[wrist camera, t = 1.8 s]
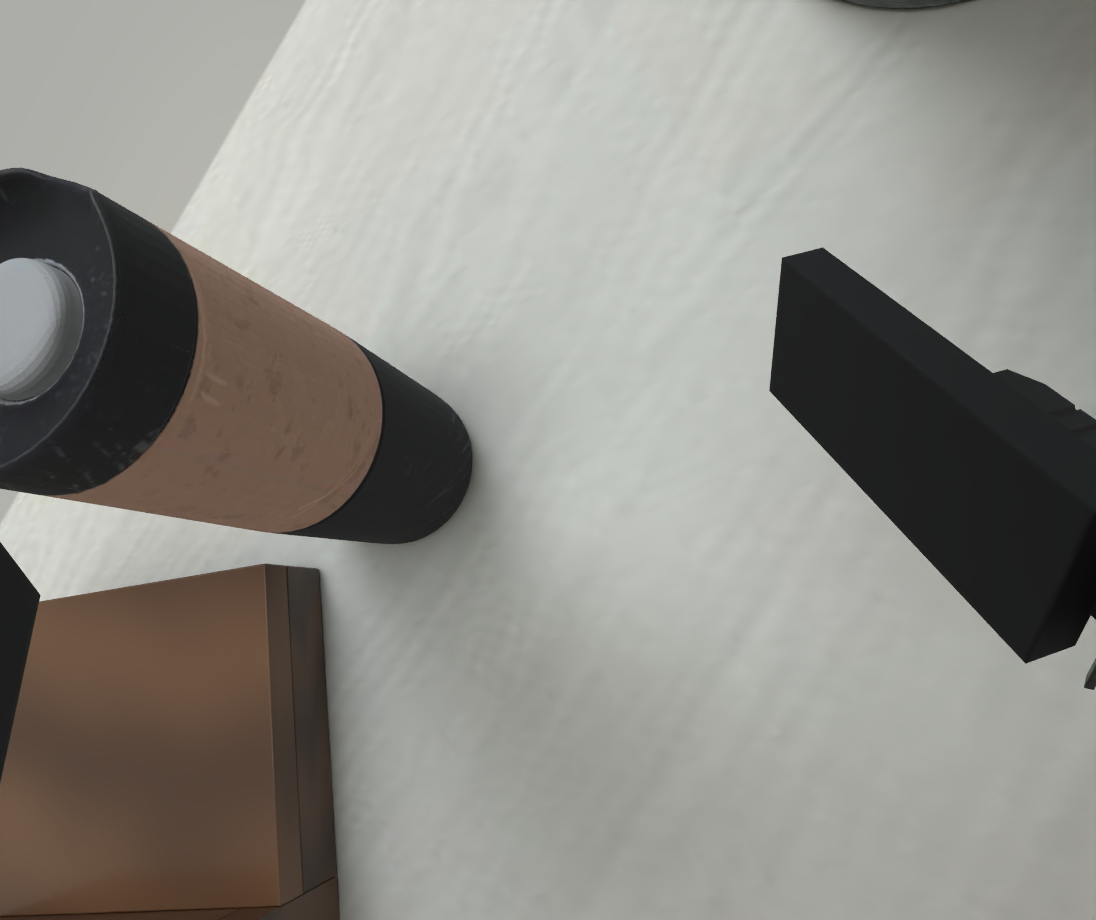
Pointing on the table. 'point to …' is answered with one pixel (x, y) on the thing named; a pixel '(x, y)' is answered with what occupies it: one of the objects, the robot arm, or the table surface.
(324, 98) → the table surface
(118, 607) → the walnut shelf
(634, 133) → the table surface
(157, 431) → the travel mug
